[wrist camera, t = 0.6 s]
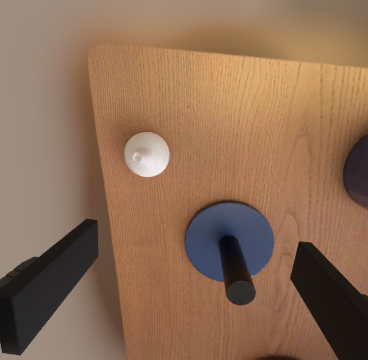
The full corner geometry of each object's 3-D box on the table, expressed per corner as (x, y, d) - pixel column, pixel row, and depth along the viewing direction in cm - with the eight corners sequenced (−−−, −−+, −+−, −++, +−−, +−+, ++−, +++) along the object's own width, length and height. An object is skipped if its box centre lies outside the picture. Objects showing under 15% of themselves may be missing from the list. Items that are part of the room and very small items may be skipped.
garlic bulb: (122, 162, 32) (98, 173, 24) (138, 124, 31) (118, 122, 23) (160, 180, 32) (147, 197, 25) (178, 143, 31) (170, 149, 23)
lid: (192, 193, 33) (188, 226, 22) (281, 208, 32) (322, 249, 21) (180, 269, 36) (171, 330, 25) (260, 283, 35) (287, 352, 25)
